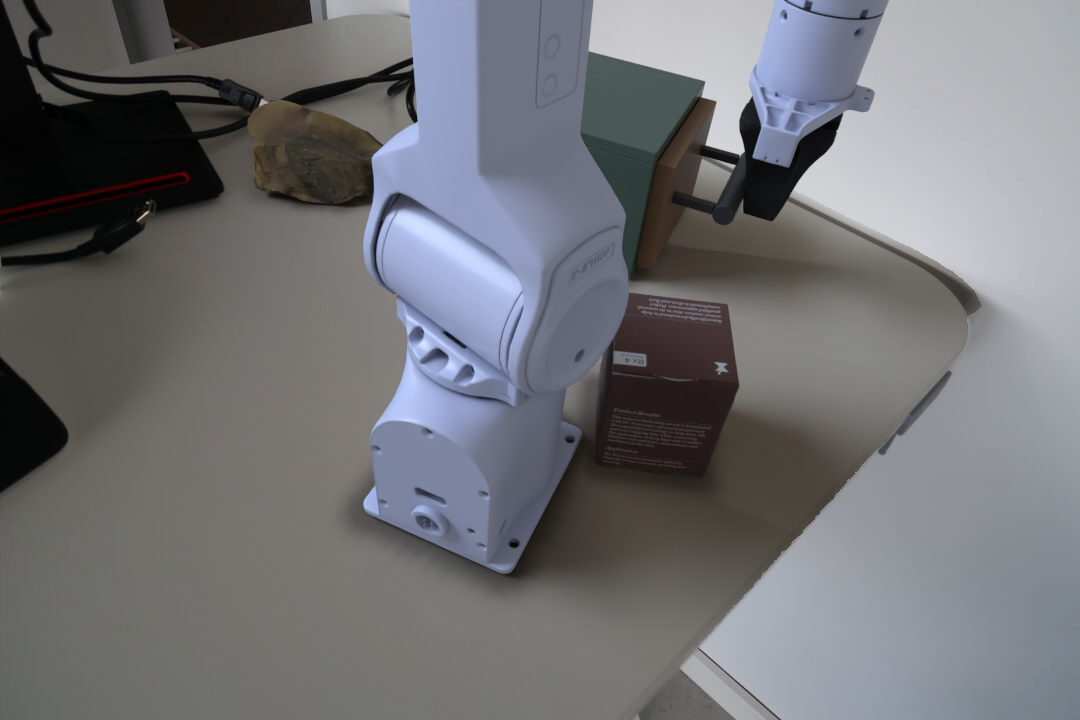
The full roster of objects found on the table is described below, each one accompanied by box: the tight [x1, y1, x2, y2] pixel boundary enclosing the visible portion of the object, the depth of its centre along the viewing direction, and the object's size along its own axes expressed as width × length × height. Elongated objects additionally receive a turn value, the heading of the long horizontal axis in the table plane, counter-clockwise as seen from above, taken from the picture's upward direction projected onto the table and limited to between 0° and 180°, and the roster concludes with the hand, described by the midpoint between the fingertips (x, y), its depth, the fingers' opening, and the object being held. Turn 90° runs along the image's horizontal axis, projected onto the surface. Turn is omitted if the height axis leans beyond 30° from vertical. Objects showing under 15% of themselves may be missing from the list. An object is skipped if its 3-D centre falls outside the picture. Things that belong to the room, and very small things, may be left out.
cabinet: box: [580, 50, 706, 281], centre depth 52 cm, size 14×12×10 cm
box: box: [593, 292, 741, 478], centre depth 38 cm, size 6×6×7 cm
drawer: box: [635, 96, 746, 271], centre depth 51 cm, size 17×10×8 cm, turn 66°
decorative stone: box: [246, 98, 385, 205], centre depth 55 cm, size 10×9×4 cm
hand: (759, 212), depth 49 cm, fingers closed, pressing on drawer
